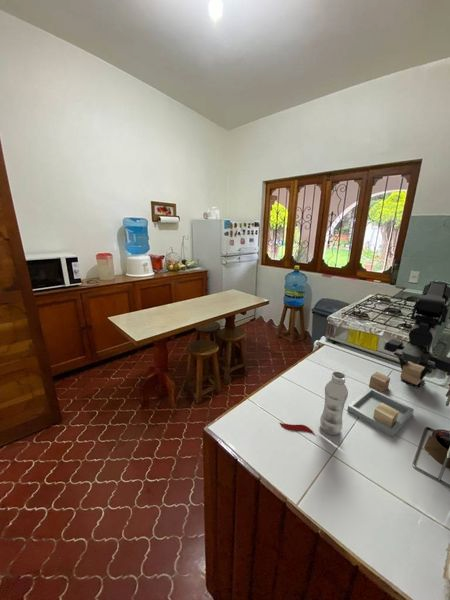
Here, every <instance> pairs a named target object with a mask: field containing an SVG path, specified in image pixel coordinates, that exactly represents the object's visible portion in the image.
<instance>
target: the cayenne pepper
mask: <svg viewBox="0 0 450 600" xmlns="http://www.w3.org/2000/svg"><path fill="white" fill-rule="evenodd" d="M279 424H280V425H281V428H283V429H286V430H287V431H296V432H306V433H309V434H312V435H314V436H315V437H316V433H315V432H314V431H313V429H311V428H310V427H308V426H307V425H305V424H292V423H291V424H289V423H282V422H279Z"/></svg>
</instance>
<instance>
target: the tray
mask: <svg viewBox="0 0 450 600" xmlns="http://www.w3.org/2000/svg"><path fill="white" fill-rule="evenodd" d="M381 403H384V404H386V405H388V406H390V407H391V408H393V409H395V410H397V411H399V414H398V418H397V422H396V424H395V425H394V426H393V427H392V428H390V427H388V426H387V425H385V424H383V423H381V422H380V421H378V420H376V419H374V418H373V416H374V411H375V409H376V408H377V407H378V406H379V405H380V404H381ZM414 409H415V408H413V407H410V406H408V405H406V404H404V403H403V402H400V401H397V400H396V399H394V398H392V397H390V396H388V395H386V394H384V393H383V392H381V391H379V390H377V389H375V388H373V387H369V388H368V389H367V390H365V391H364V392H363V393H362V394H360V395H359V396H358V397H357V398H355V399H354V400H353V401H352V402H350V403H349V404H348V405H347V411H348V412H350V413H351V414H353V415H354V416H356V417H357V418H359V419H361V420H363V421H365V422H366V423H368V424H369V425H370V426H373V427H374V428H376V429H378V430H379V431H381V432H382V433H385V435H387V436H389V437H390V438H393V437H394V436H395V435H396V434H397V433H398V432H399V430H400V429H401V428H402V427H403V426H404V425H405V423H406V422H407V421H408V420H409V419H410V417H412V415H413V414H414Z"/></svg>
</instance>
